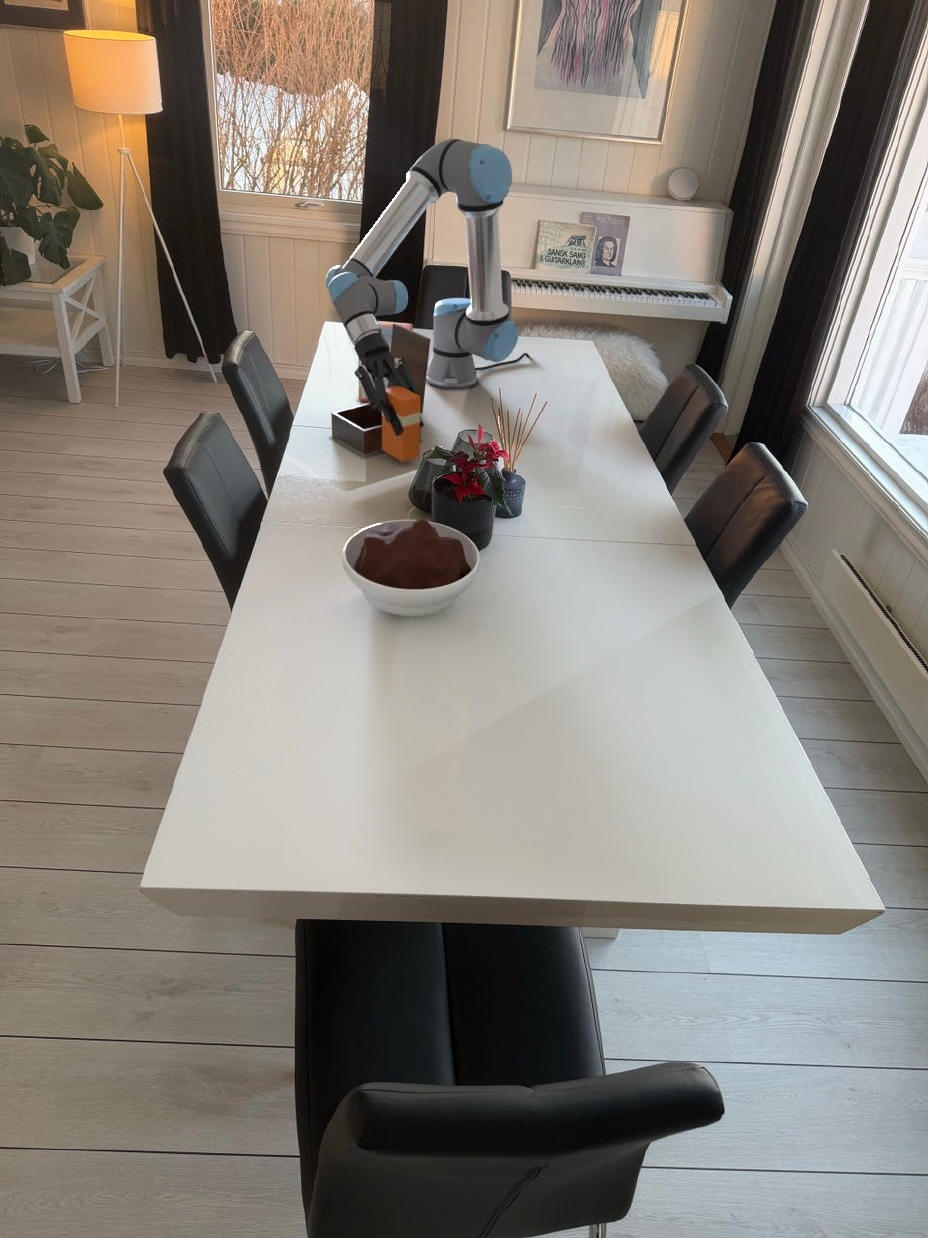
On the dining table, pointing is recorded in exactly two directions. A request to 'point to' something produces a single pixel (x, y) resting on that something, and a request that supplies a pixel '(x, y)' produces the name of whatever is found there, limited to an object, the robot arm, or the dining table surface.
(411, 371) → the lid
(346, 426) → the storage box
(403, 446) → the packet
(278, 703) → the dining table surface
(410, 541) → the bowl of chocolate pudding
